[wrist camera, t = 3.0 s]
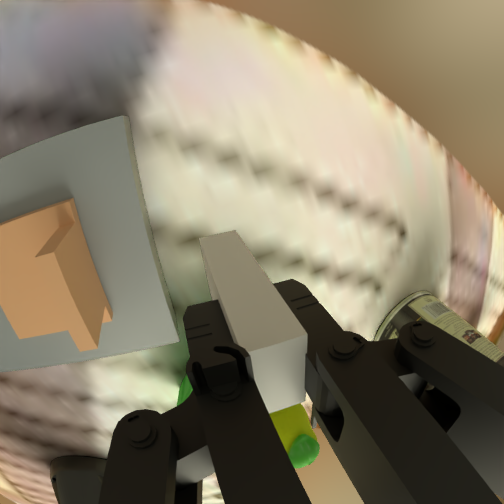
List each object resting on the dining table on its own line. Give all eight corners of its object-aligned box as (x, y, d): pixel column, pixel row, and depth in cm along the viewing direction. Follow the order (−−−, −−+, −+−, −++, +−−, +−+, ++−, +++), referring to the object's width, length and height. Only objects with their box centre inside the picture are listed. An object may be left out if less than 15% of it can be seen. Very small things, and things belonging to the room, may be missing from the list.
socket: (175, 315, 21) (179, 341, 18) (-6, 350, 17) (-16, 373, 14) (129, 117, 15) (122, 115, 12) (-72, 202, 11) (-93, 214, 8)
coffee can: (375, 372, 33) (438, 449, 21) (367, 323, 28) (456, 417, 16) (432, 329, 34) (499, 390, 22) (435, 274, 29) (525, 341, 17)
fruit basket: (199, 295, 21) (242, 427, 11) (298, 315, 25) (371, 415, 15) (162, 394, 24) (181, 504, 14) (246, 401, 28) (286, 493, 18)
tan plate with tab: (113, 313, 16) (106, 364, 12) (22, 331, 15) (3, 378, 11) (73, 197, 13) (44, 226, 9) (-23, 232, 11) (-61, 265, 7)
